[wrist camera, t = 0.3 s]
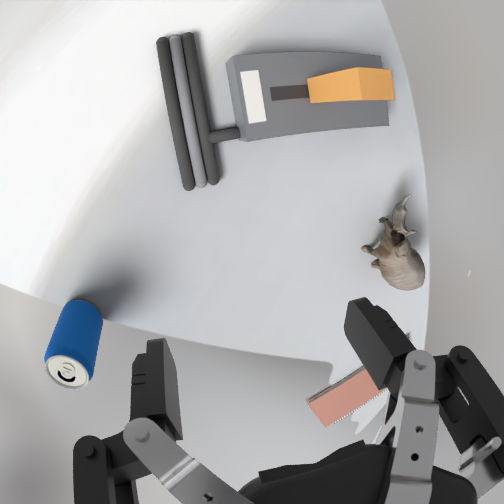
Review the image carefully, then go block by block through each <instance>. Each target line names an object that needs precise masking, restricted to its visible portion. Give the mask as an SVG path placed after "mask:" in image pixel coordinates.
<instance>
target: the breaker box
mask: <svg viewBox="0 0 504 504" xmlns="http://www.w3.org/2000/svg"><path fill="white" fill-rule="evenodd" d="M356 67H362V68H377V69H382V63H381V57H380V56H375V55H365V54H353V53H336V52H277V53H260V54H248V55H237V56H232V57H231V58H230V59H229V60H228V61H227V62H226V68H227V74H228V80H229V86H230V92H231V98H232V103H233V109H234V115H235V121H236V127H239V130H240V138H238V139H239V140H240V141H245V142H249V141H255V140H261V139H267V138H273V137H280V136H287V135H294V134H301V133H309V132H318V131H327V130H337V129H347V128H360V127H375V126H389V119H388V109H387V100H362V101H341V102H322V103H310V96H309V89H308V83H307V79H308V78H312V77H316V76H320V75H324V74H328V73H333V72H337V71H342V70H346V69H351V68H356Z"/></svg>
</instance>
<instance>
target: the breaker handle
mask: <svg viewBox="0 0 504 504" xmlns="http://www.w3.org/2000/svg"><path fill="white" fill-rule="evenodd" d="M307 83H308V89H309V96H310V103H322V102H341V101H362V100H395V95H394V87H393V79H392V72H391V70H388V69H377V68H362V67H356V68H351V69H346V70H342V71H337V72H333V73H328V74H324V75H320V76H316V77H312V78H308V79H307Z"/></svg>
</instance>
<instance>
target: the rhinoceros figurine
mask: <svg viewBox="0 0 504 504" xmlns="http://www.w3.org/2000/svg"><path fill="white" fill-rule="evenodd" d="M410 196H411V195H408V196H406V197H404V198H403V200H402V201H400V202H399V203H398V204H397V205H396V206H395V208H394V210H393V225H392V223H391V222H390V221H389V220H388V219H385V218H383V217H382V218H380V222H381V223H385V227H386V231H385V233H384V234H383V236H382V239H381V244H380V245H379V246H378V248H376V249H372V248H368V247H367V246H366V245H365V246H363V247H362V248H361V249H362V250H363V252H367V253H370V254H371V255H374V256H377V258H378V259H379V260H374V262H372V263H371V267H372V268H378V269H380V270H381V274H382V276H383V278H384V279H385V280H386V281H387V282H388V283H389V284H390V285H391V286H393V287H395V288H397V289H400V290H406V291H408V290H414V289H417V288H419V287H421V286H422V285H423V283H424V279H425V267H424V263H423V261H422V259H421V257H420V255H419V254H418V253H417V251H416V250H414V249H412V248H411V246H410V242H409V241H408V239H407V237H408V236H409V235H410V234H413V233H416V232H417V231H415V230H412V231H407V228H406V226H405V218H406V213H407V210H406V208H405V203H406V201H407V199H408V198H409V197H410ZM397 230H398V231H397Z"/></svg>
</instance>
